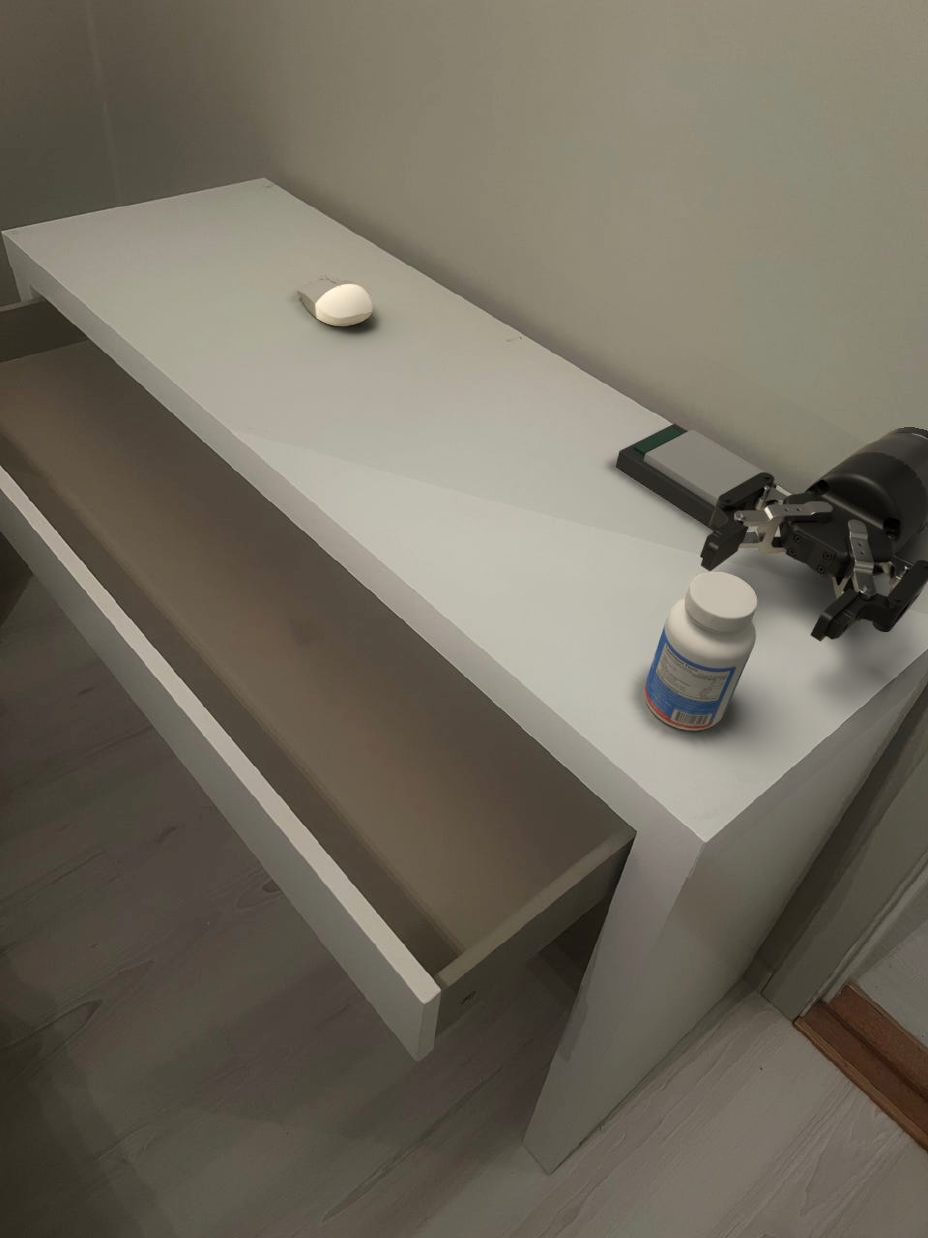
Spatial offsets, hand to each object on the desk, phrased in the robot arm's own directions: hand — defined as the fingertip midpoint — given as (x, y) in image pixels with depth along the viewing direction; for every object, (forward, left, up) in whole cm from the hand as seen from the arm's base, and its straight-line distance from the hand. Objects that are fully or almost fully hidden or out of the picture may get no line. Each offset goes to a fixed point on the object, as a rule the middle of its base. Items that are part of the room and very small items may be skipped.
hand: (762, 592), depth 60 cm
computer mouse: (+43, -36, -6) cm, 56 cm away
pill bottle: (+3, +5, -6) cm, 9 cm away
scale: (+5, -20, -6) cm, 21 cm away
